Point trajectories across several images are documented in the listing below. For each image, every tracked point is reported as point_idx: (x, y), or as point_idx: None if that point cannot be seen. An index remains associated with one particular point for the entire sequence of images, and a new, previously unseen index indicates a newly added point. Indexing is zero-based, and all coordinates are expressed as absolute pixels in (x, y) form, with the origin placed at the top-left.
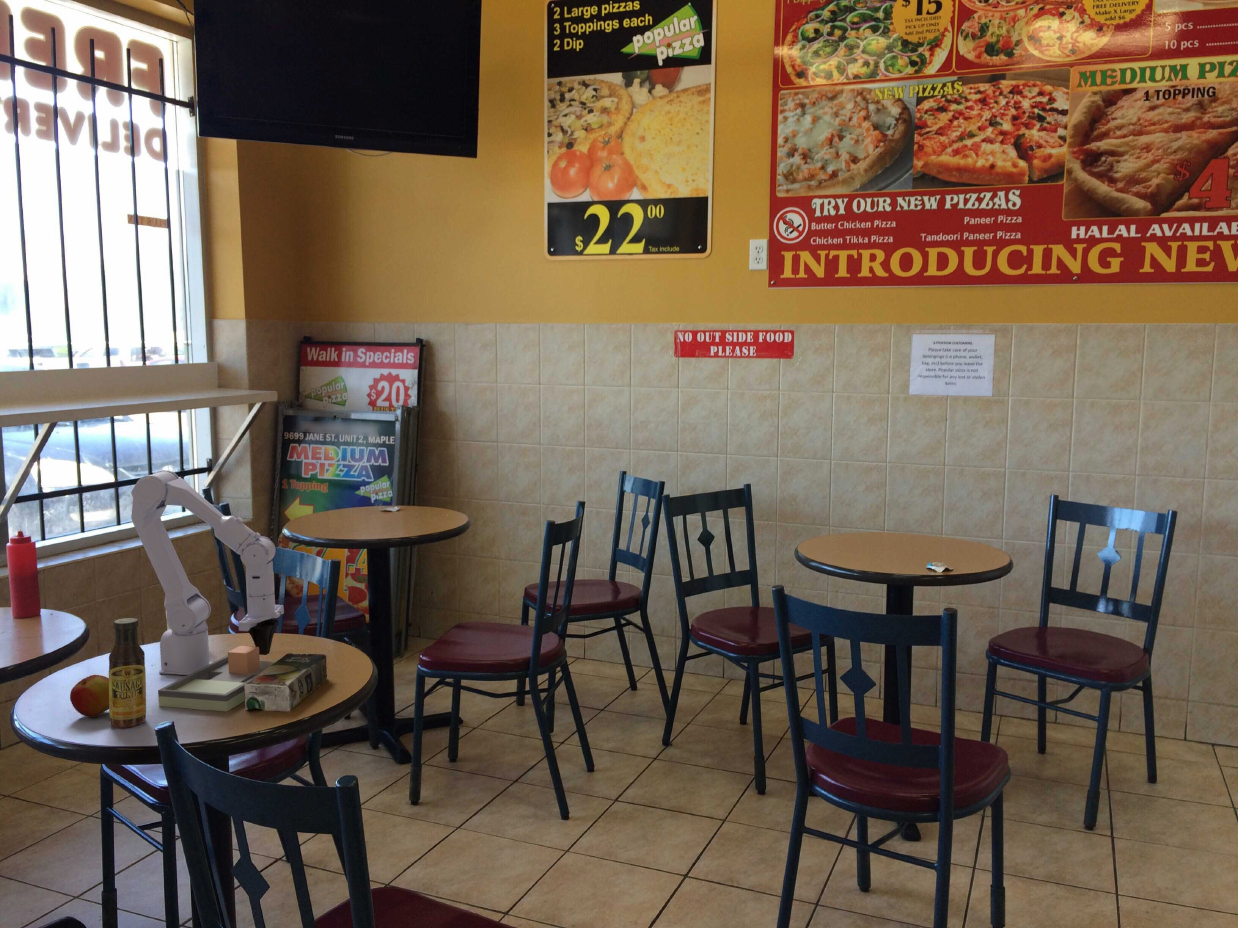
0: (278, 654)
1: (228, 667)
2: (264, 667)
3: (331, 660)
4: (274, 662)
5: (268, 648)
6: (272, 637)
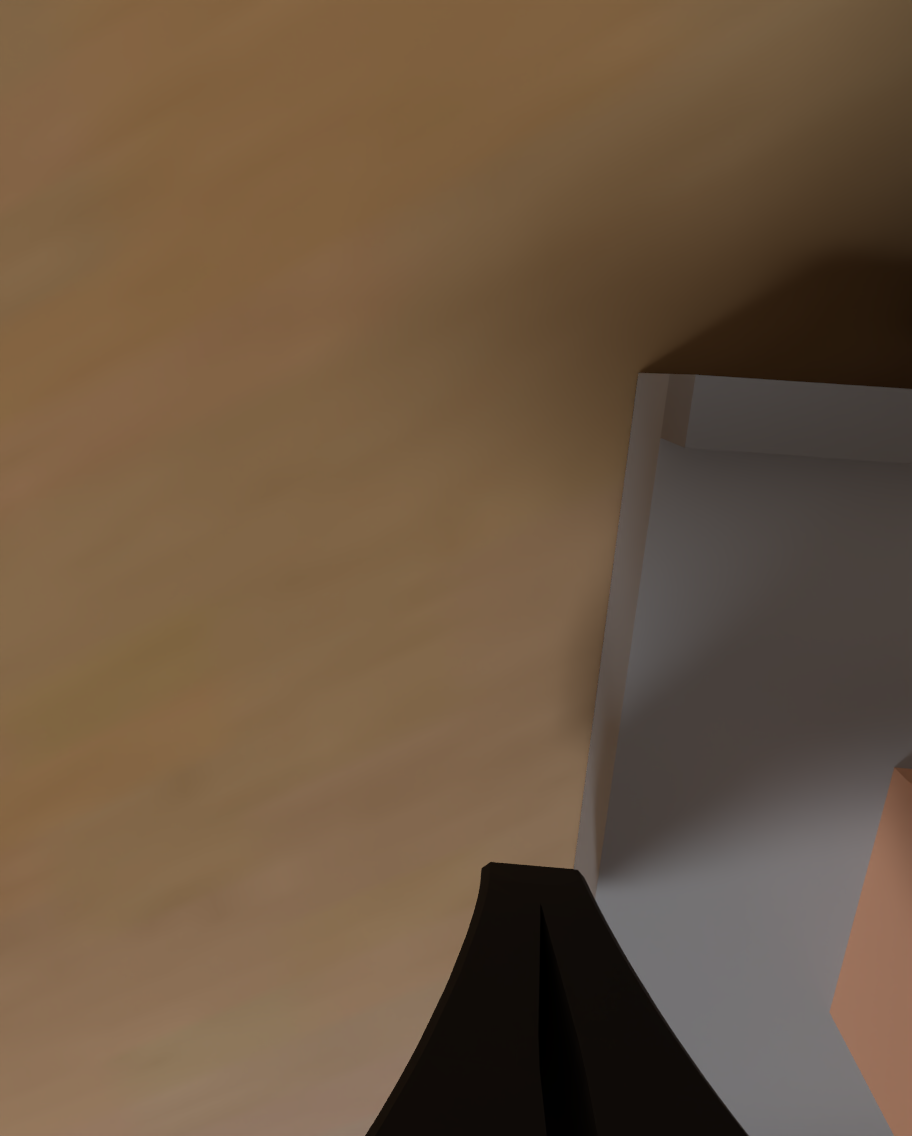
0: (26, 851)
1: None
2: (902, 701)
3: (38, 2)
4: (659, 664)
5: (554, 919)
6: (433, 1061)
